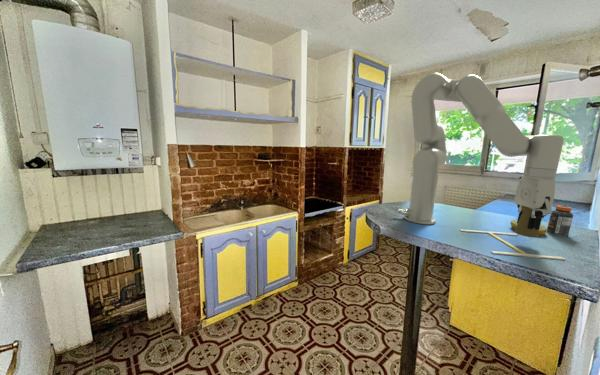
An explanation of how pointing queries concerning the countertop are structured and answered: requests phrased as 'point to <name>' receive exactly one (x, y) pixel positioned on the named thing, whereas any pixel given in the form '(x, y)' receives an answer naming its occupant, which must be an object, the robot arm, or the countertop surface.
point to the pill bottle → (560, 221)
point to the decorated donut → (541, 231)
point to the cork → (526, 223)
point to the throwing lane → (512, 246)
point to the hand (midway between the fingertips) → (527, 226)
